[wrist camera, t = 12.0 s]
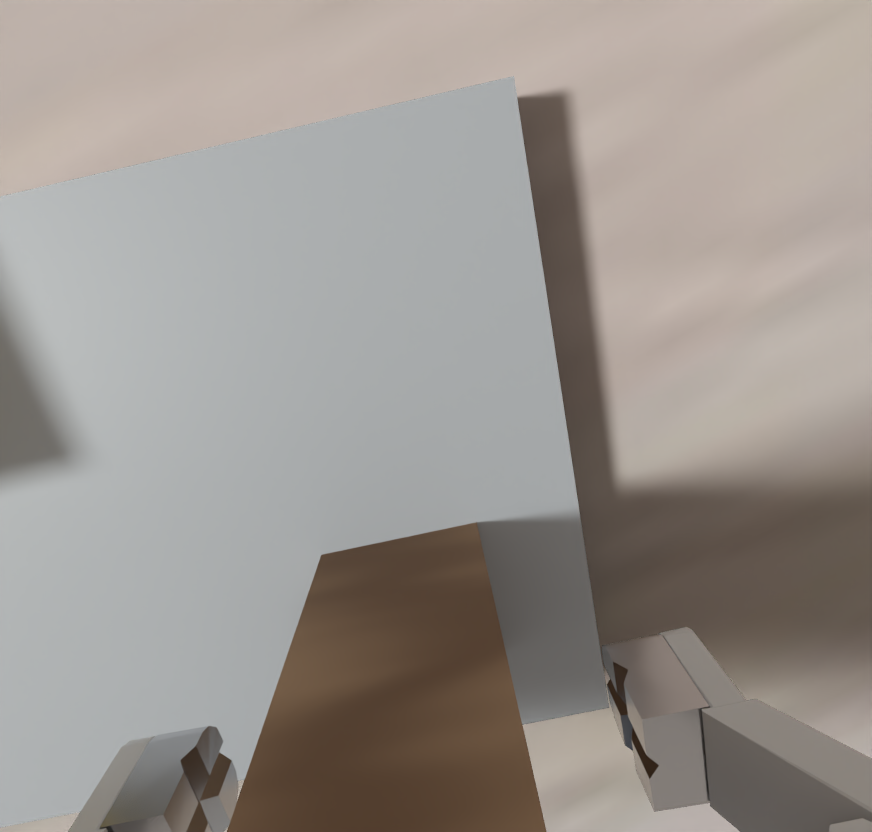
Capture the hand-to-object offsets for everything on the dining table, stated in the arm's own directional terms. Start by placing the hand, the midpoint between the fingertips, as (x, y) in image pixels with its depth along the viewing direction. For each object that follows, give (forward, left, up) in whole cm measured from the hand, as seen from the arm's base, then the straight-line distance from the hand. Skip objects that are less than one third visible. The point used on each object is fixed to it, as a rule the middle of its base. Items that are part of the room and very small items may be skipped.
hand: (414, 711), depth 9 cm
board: (+9, -3, -4) cm, 10 cm away
